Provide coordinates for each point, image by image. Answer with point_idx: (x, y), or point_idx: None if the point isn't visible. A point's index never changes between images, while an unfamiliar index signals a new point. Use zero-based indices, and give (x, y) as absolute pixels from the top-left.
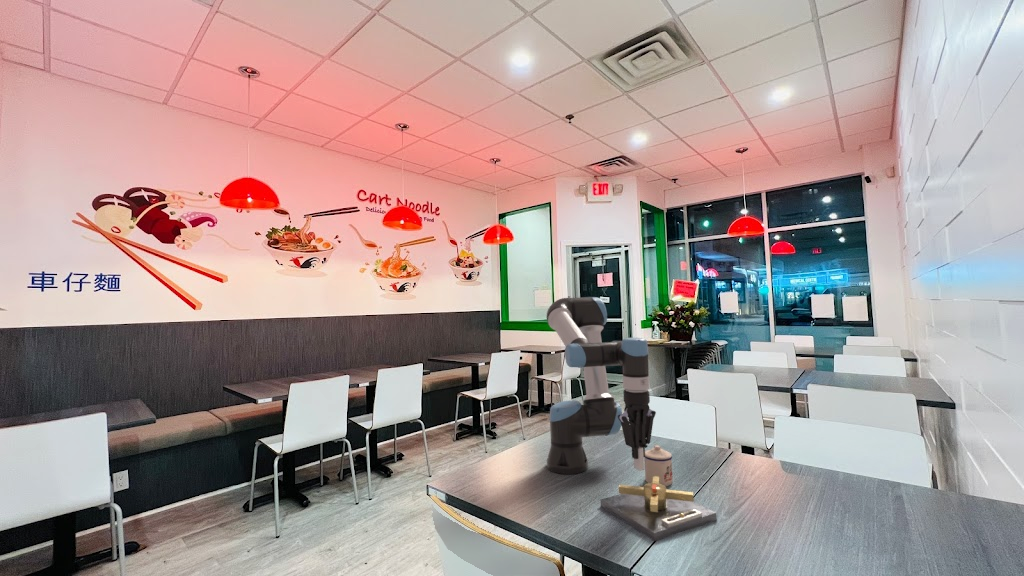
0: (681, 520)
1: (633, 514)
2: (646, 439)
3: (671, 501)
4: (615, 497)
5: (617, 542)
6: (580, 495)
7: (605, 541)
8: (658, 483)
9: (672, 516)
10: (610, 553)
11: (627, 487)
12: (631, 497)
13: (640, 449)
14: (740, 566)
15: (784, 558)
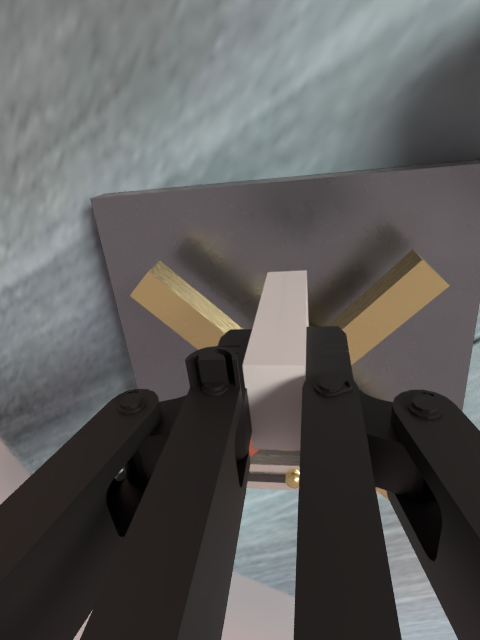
0: (275, 486)
1: (161, 370)
2: (399, 506)
3: (381, 359)
4: (169, 211)
5: (66, 418)
6: (51, 17)
7: (35, 400)
8: (359, 356)
9: (262, 465)
10: (29, 444)
11: (170, 321)
12: (241, 247)
13: (269, 441)
14: (282, 589)
15: (400, 617)
